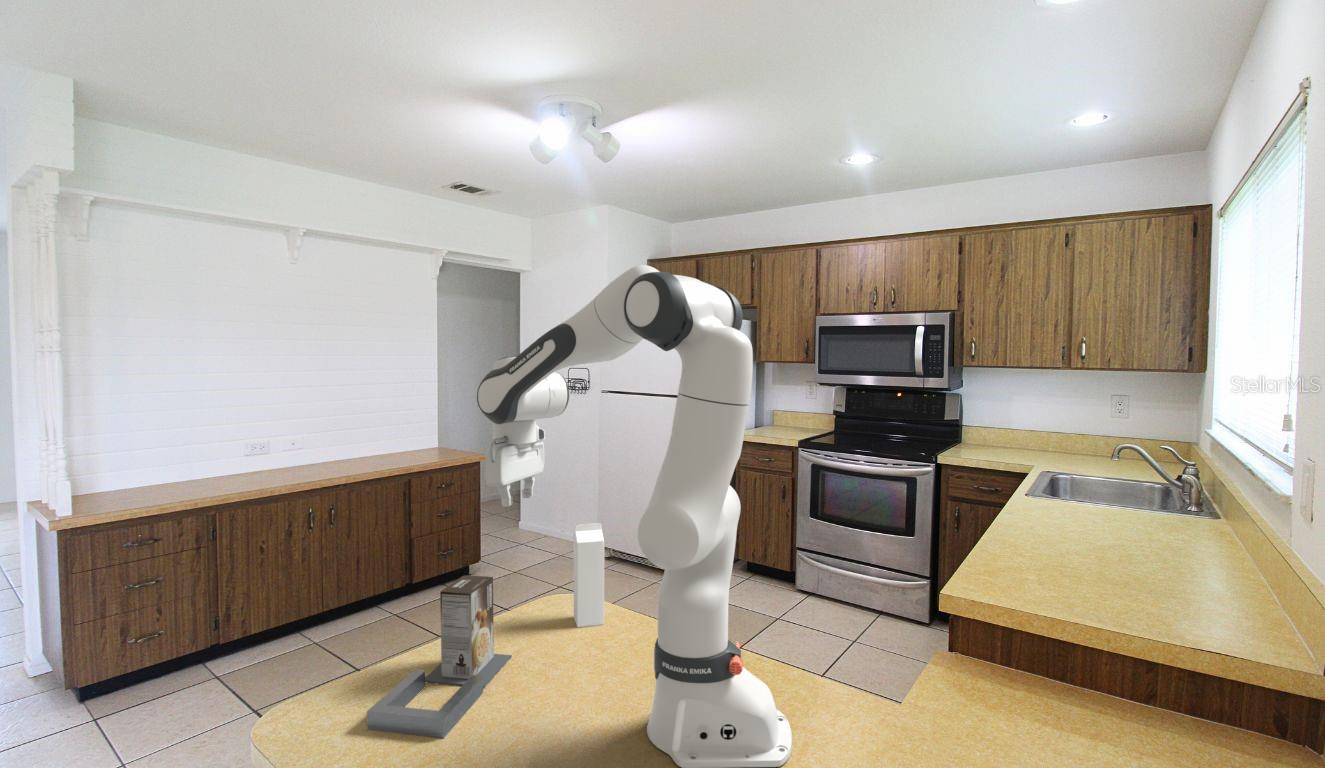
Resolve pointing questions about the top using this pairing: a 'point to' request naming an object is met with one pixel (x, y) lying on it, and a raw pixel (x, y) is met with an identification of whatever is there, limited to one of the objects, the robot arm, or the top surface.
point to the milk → (588, 575)
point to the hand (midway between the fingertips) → (517, 501)
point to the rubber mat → (486, 672)
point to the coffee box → (466, 626)
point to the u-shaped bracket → (421, 722)
